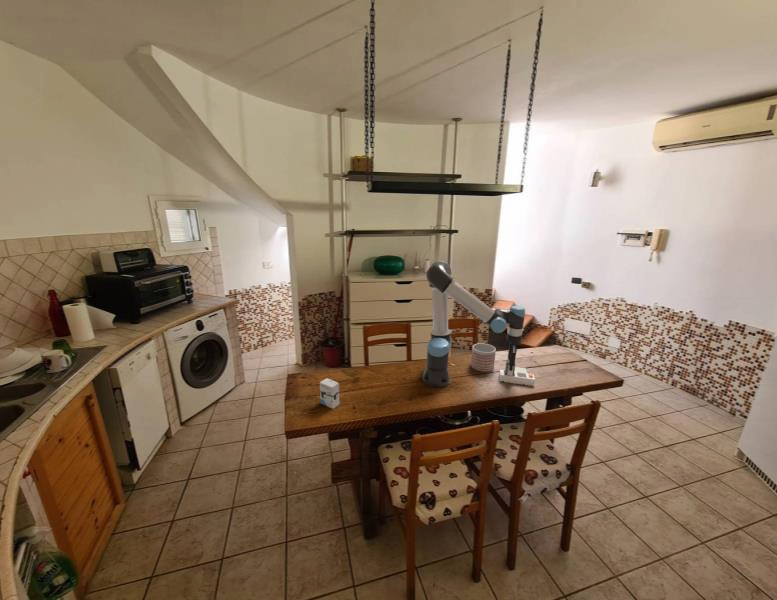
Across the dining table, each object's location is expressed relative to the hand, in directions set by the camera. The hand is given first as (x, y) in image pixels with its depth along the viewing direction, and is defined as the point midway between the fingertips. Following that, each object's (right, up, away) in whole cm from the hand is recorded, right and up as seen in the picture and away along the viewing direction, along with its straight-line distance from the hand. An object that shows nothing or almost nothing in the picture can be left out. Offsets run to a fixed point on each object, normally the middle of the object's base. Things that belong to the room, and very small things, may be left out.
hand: (509, 372), depth 184 cm
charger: (0, -2, +1) cm, 2 cm away
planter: (-11, 0, +16) cm, 19 cm away
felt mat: (+9, -2, +11) cm, 14 cm away
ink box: (-97, -10, -25) cm, 101 cm away
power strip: (+4, -4, 0) cm, 6 cm away
